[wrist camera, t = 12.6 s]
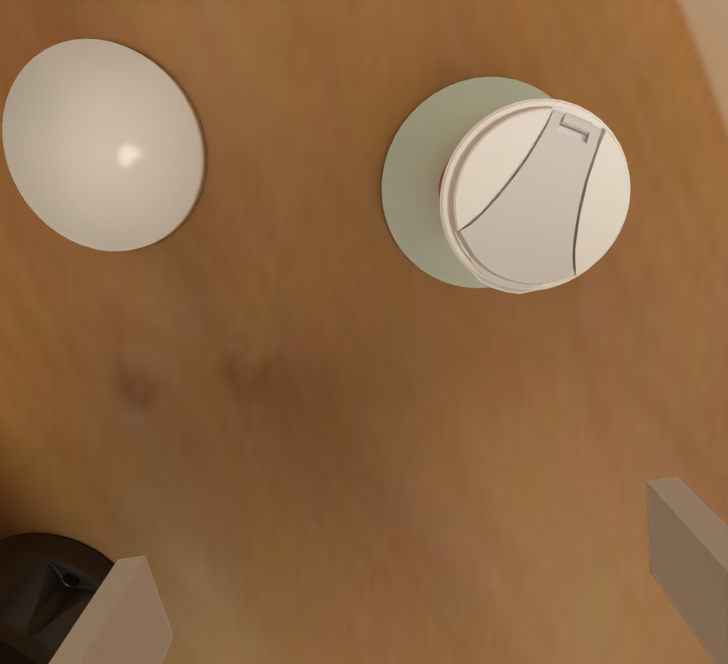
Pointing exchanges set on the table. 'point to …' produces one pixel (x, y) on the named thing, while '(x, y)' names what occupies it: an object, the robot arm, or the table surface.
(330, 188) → the table surface
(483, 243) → the paper cup
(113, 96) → the white dish
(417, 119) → the sage dish
